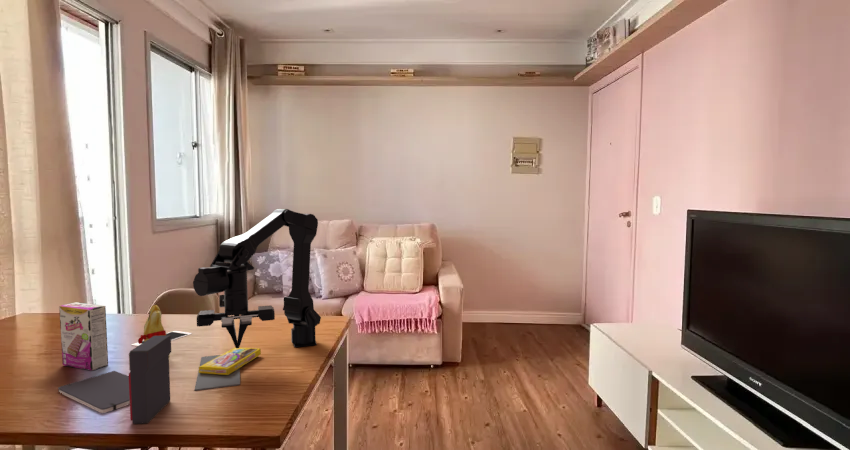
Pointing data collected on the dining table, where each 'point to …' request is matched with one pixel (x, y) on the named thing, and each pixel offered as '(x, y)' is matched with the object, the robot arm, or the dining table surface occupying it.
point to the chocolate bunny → (153, 325)
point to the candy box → (230, 361)
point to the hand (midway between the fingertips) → (237, 347)
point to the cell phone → (173, 335)
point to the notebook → (100, 391)
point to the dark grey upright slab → (149, 378)
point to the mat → (215, 377)
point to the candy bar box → (83, 335)
